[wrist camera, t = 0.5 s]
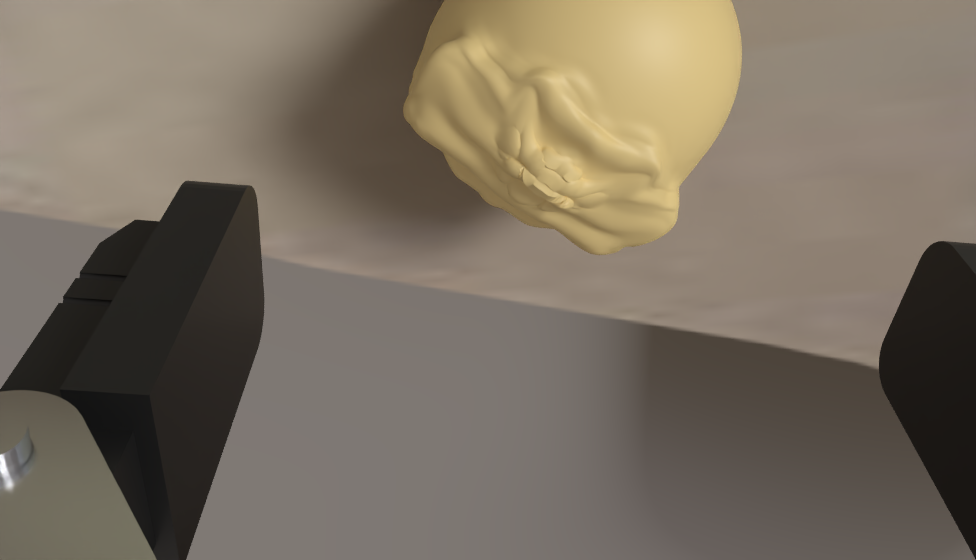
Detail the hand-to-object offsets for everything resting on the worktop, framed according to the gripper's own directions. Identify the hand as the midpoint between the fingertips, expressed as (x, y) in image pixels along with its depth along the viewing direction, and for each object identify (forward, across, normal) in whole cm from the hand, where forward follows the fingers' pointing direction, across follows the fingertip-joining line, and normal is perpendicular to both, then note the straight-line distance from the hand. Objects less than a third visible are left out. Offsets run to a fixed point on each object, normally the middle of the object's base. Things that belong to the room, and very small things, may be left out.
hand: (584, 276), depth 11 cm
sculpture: (+28, -3, +6) cm, 29 cm away
